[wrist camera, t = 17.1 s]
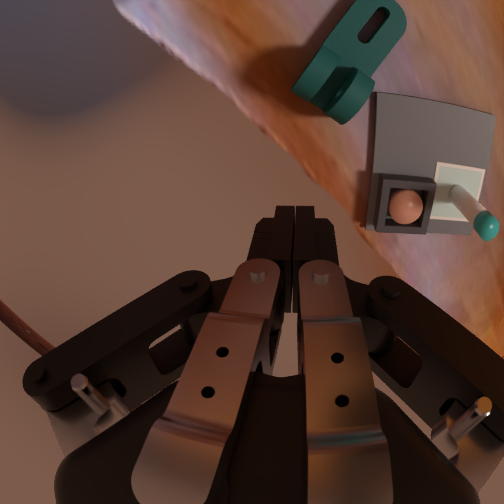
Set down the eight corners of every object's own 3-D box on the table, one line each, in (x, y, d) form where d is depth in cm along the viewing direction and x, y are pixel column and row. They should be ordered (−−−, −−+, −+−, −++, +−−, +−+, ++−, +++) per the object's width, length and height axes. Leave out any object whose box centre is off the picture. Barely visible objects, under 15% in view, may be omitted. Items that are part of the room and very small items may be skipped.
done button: (388, 184, 37) (392, 190, 36) (420, 187, 37) (425, 193, 35) (384, 216, 40) (387, 223, 39) (415, 218, 40) (419, 225, 38)
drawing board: (375, 91, 31) (381, 94, 29) (492, 114, 28) (503, 119, 26) (364, 227, 43) (368, 237, 41) (468, 232, 40) (475, 242, 38)
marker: (451, 182, 35) (485, 216, 27) (467, 186, 35) (502, 220, 27) (445, 202, 37) (477, 239, 29) (461, 205, 37) (493, 241, 29)
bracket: (335, 117, 35) (344, 130, 28) (291, 87, 33) (289, 93, 27) (409, 19, 24) (434, 12, 18) (366, -13, 23) (381, -29, 17)
